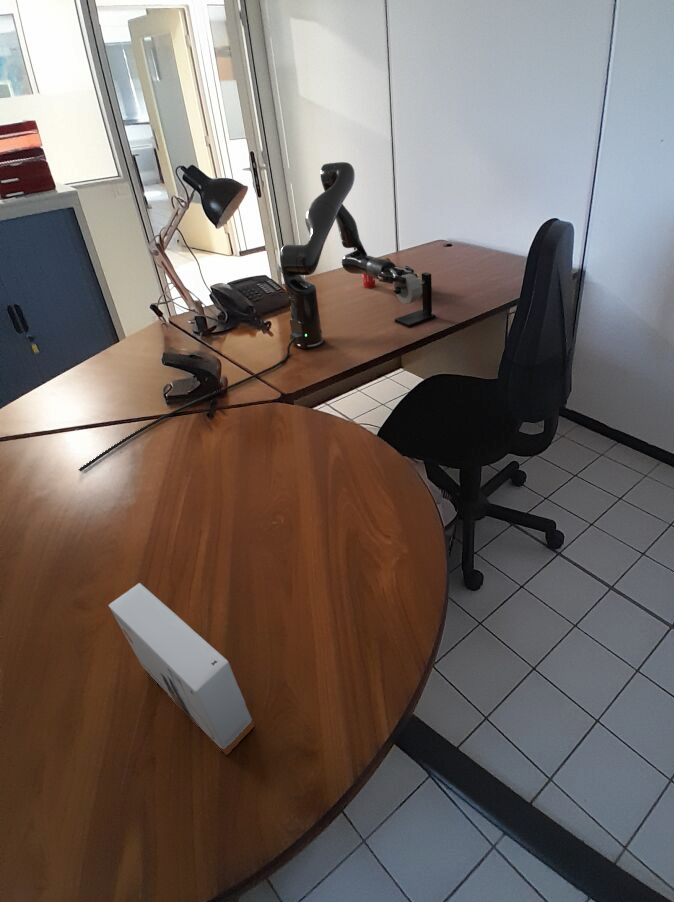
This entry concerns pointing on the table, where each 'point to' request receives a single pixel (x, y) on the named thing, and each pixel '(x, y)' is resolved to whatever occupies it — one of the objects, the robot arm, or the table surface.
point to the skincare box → (183, 664)
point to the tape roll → (409, 289)
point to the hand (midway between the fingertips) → (411, 279)
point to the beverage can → (368, 281)
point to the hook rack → (423, 314)
